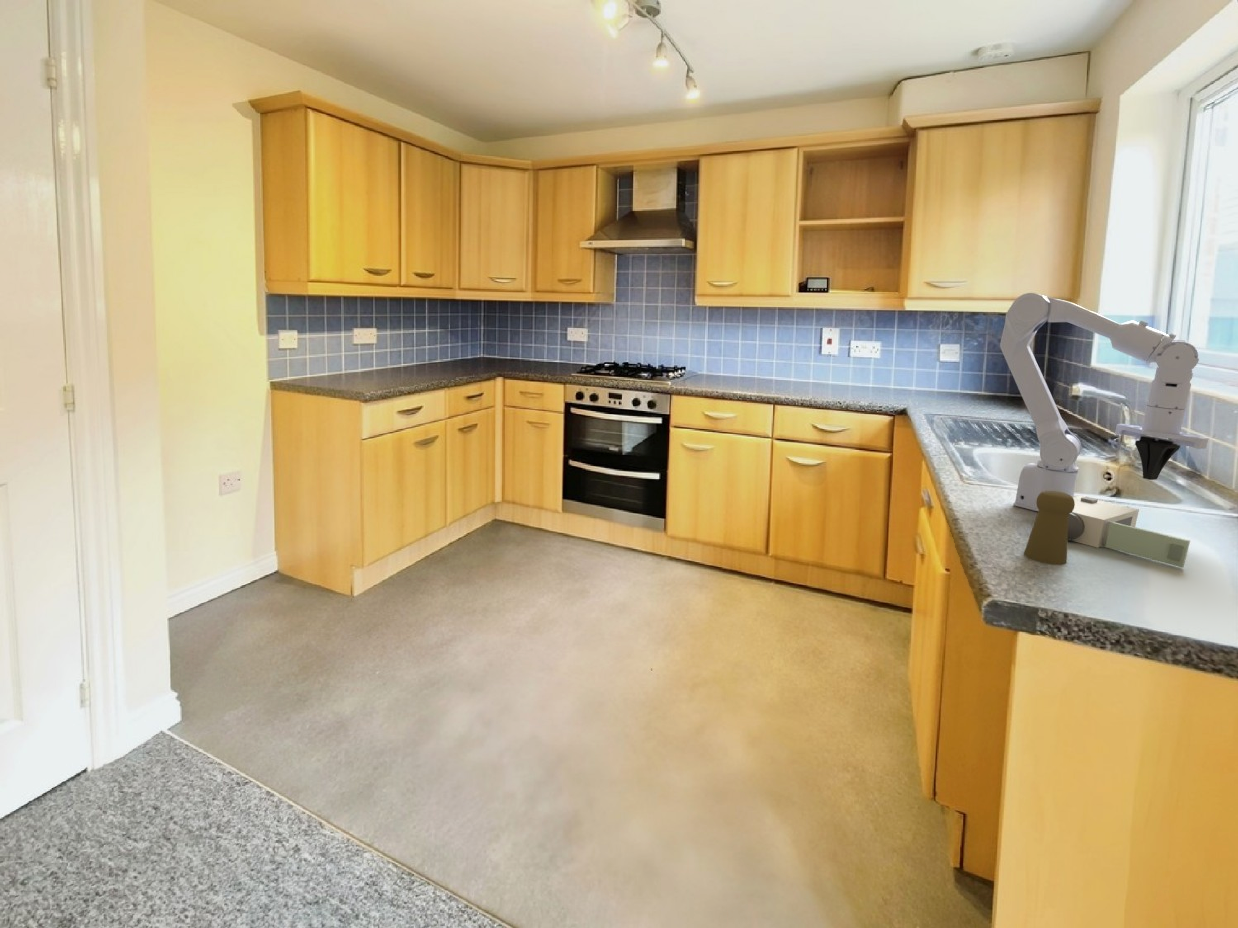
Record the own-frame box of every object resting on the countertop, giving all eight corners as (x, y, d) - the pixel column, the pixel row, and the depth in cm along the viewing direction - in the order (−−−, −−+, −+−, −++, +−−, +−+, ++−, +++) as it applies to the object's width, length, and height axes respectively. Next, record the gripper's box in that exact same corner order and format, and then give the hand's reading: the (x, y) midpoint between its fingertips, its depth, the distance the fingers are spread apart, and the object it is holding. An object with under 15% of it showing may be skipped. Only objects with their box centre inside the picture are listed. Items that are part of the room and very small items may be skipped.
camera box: (1033, 532, 126) (1038, 502, 125) (1074, 520, 135) (1079, 492, 134) (1093, 549, 118) (1100, 517, 117) (1133, 535, 127) (1139, 506, 126)
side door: (1103, 545, 120) (1108, 520, 119) (1183, 566, 111) (1190, 540, 110) (1099, 546, 119) (1104, 521, 118) (1180, 568, 110) (1187, 541, 109)
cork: (1027, 548, 117) (1039, 485, 115) (1069, 557, 114) (1082, 492, 111) (1020, 557, 113) (1032, 492, 110) (1063, 567, 109) (1077, 499, 107)
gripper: (1111, 401, 132) (1097, 470, 136) (1197, 414, 120) (1179, 490, 123) (1134, 401, 135) (1120, 469, 138) (1221, 413, 122) (1203, 487, 125)
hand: (1149, 478), depth 131 cm, fingers closed
